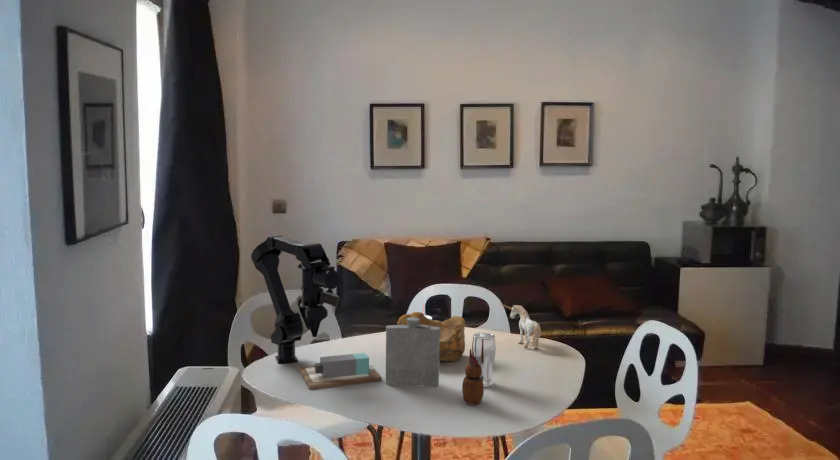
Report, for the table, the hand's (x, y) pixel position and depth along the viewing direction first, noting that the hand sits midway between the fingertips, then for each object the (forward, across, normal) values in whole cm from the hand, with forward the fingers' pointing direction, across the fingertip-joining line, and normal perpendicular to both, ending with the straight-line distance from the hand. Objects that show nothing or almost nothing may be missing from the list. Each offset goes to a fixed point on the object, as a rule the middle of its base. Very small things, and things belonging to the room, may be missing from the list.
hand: (311, 332), depth 207 cm
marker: (+11, -10, -8) cm, 17 cm away
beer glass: (+12, -28, -46) cm, 55 cm away
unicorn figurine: (+12, +2, -75) cm, 76 cm away
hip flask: (+12, -21, -26) cm, 36 cm away
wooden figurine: (+12, -40, -37) cm, 56 cm away
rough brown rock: (+12, -3, -39) cm, 41 cm away
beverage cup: (+12, +17, -44) cm, 49 cm away
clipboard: (+12, -8, -7) cm, 16 cm away
